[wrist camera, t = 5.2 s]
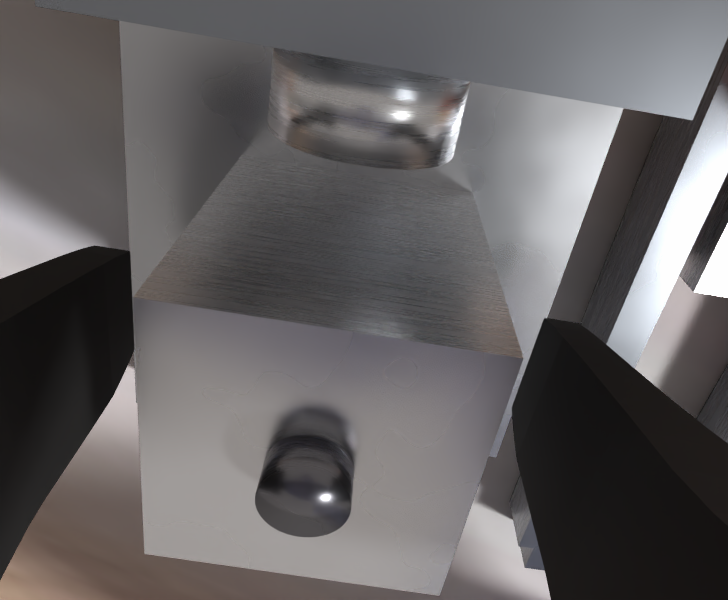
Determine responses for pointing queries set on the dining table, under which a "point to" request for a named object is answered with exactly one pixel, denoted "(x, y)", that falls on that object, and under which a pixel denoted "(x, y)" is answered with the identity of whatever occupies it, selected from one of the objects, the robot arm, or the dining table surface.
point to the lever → (710, 251)
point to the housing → (321, 377)
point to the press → (443, 131)
